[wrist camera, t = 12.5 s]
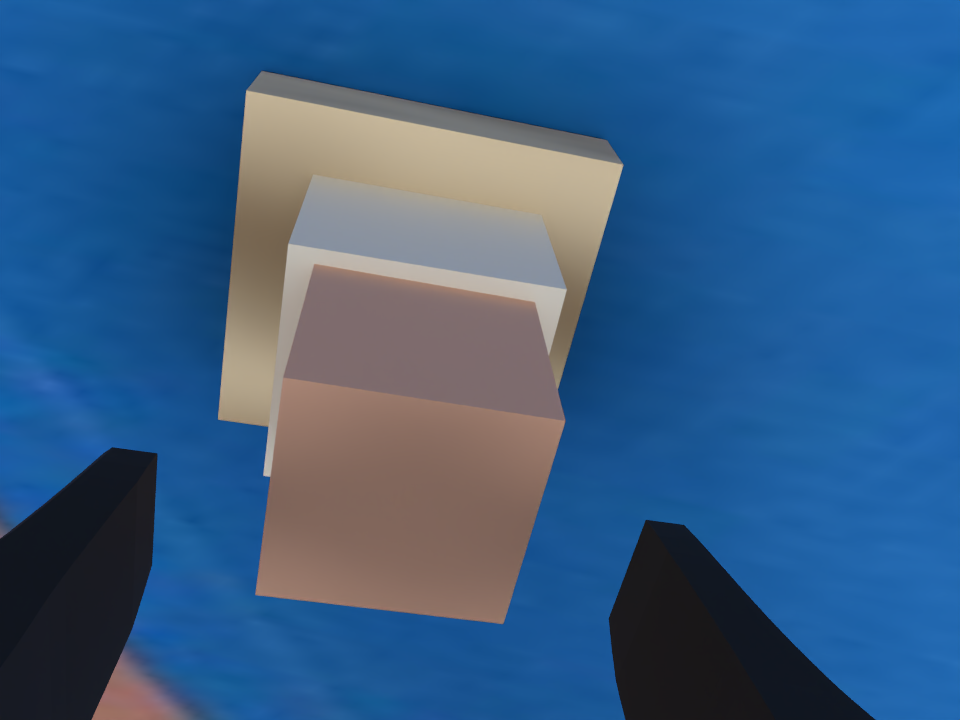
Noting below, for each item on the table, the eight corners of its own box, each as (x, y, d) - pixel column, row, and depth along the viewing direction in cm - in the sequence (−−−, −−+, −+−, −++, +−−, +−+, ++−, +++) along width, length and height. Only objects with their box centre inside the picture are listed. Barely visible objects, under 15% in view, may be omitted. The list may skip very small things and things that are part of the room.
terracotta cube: (487, 477, 18) (503, 623, 15) (288, 449, 17) (255, 594, 14) (534, 301, 16) (565, 421, 13) (314, 263, 16) (283, 376, 12)
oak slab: (527, 422, 25) (535, 464, 23) (233, 378, 23) (218, 419, 22) (606, 140, 21) (623, 165, 19) (261, 70, 20) (246, 90, 18)
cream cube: (494, 405, 22) (508, 506, 18) (289, 375, 21) (263, 475, 18) (541, 214, 20) (567, 289, 16) (313, 173, 19) (288, 243, 15)
